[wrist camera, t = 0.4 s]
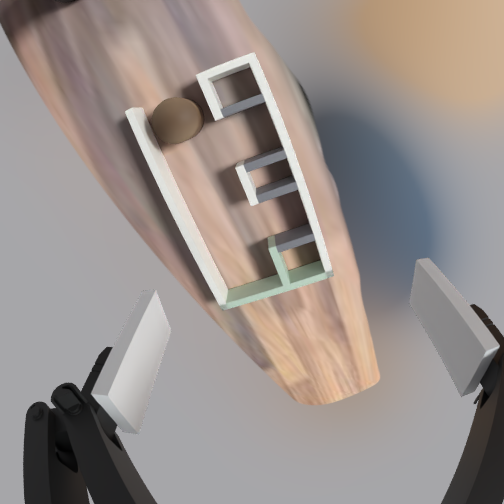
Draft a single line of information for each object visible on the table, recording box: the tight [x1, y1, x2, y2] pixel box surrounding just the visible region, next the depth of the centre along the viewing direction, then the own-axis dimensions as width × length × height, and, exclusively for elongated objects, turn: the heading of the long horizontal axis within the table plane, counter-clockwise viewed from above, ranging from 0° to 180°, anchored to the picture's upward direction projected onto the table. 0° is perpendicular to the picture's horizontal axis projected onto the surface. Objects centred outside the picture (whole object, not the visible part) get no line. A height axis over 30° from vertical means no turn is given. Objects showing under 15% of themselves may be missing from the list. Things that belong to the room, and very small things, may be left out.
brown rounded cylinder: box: [152, 97, 204, 144], centre depth 32 cm, size 6×6×4 cm
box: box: [125, 52, 334, 310], centre depth 36 cm, size 30×16×4 cm, turn 21°
